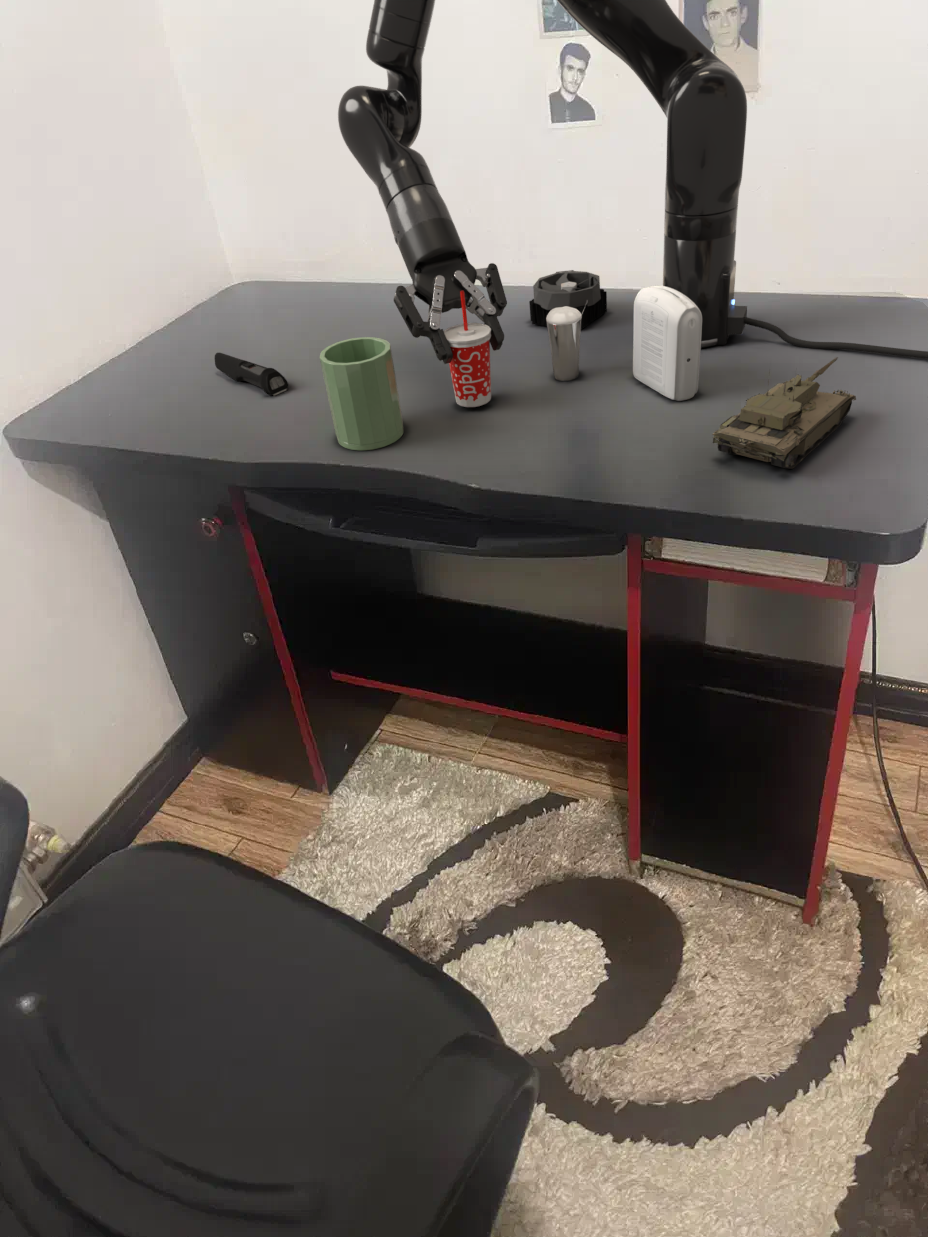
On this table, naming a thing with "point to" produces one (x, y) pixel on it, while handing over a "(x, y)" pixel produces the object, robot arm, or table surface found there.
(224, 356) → the electric trimmer
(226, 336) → the table surface
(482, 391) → the beverage cup
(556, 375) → the milkshake
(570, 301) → the cpu cooler
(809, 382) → the tank
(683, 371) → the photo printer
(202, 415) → the table surface
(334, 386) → the pen pot
